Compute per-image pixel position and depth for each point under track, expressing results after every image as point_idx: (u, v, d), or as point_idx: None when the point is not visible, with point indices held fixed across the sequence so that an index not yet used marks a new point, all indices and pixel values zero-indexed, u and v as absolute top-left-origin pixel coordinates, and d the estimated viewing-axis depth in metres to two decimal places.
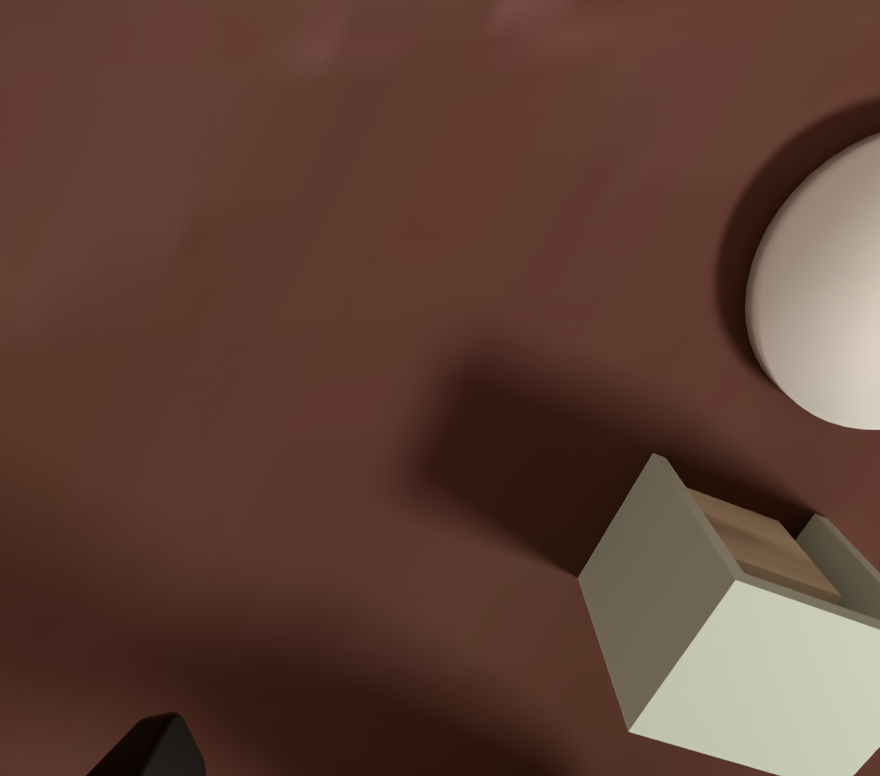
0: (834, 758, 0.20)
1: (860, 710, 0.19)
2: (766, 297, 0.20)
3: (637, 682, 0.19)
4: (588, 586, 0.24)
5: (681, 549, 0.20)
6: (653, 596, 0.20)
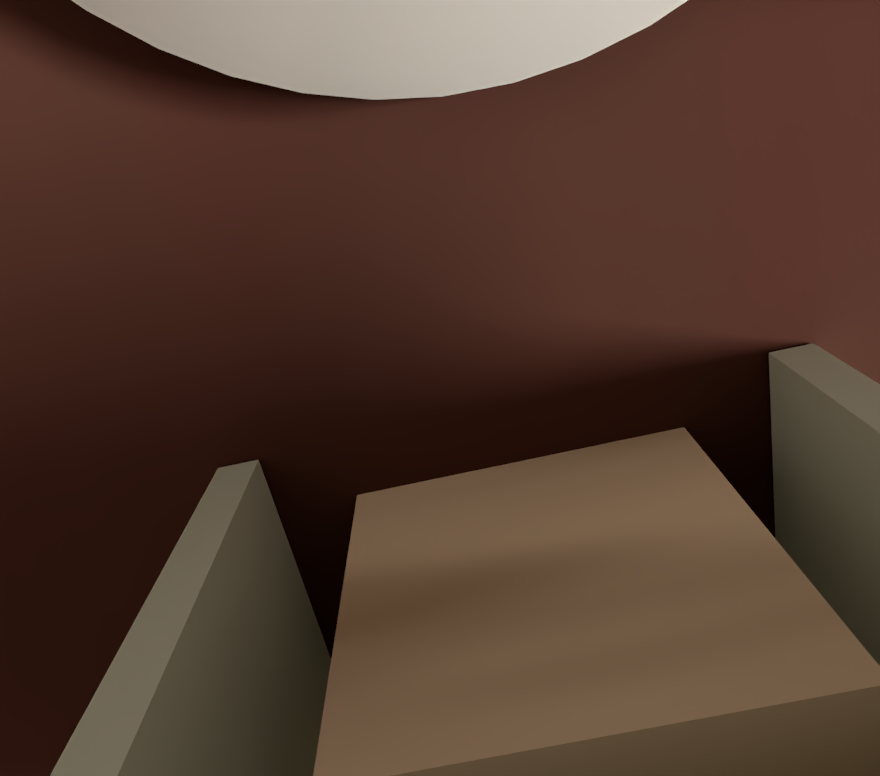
0: None
1: None
2: None
3: None
4: None
5: None
6: None
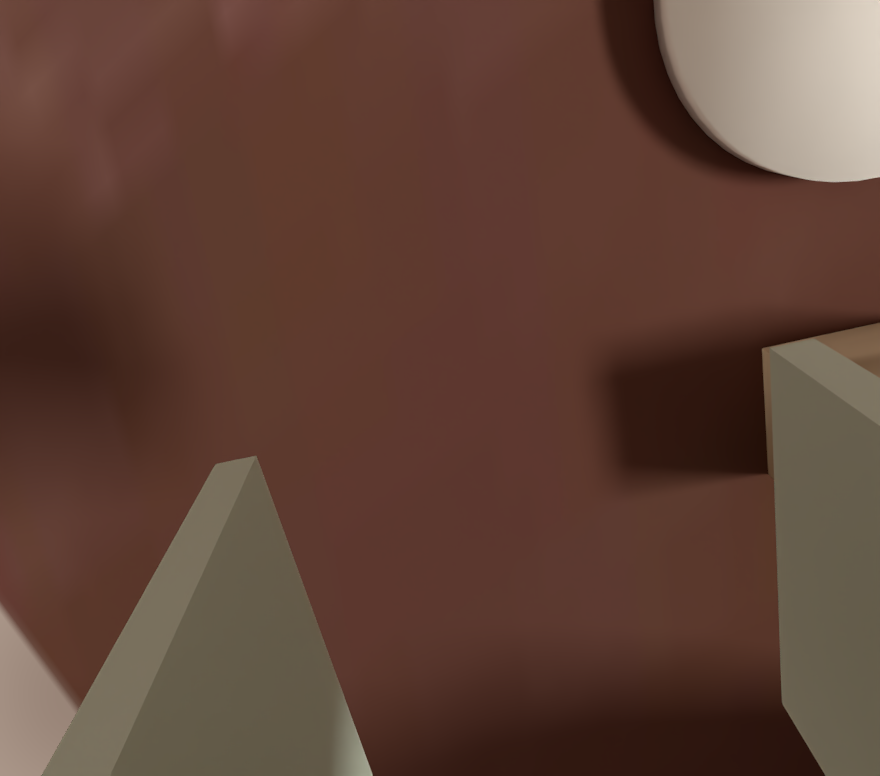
0: None
1: None
2: (701, 95, 0.15)
3: None
4: None
5: None
6: None
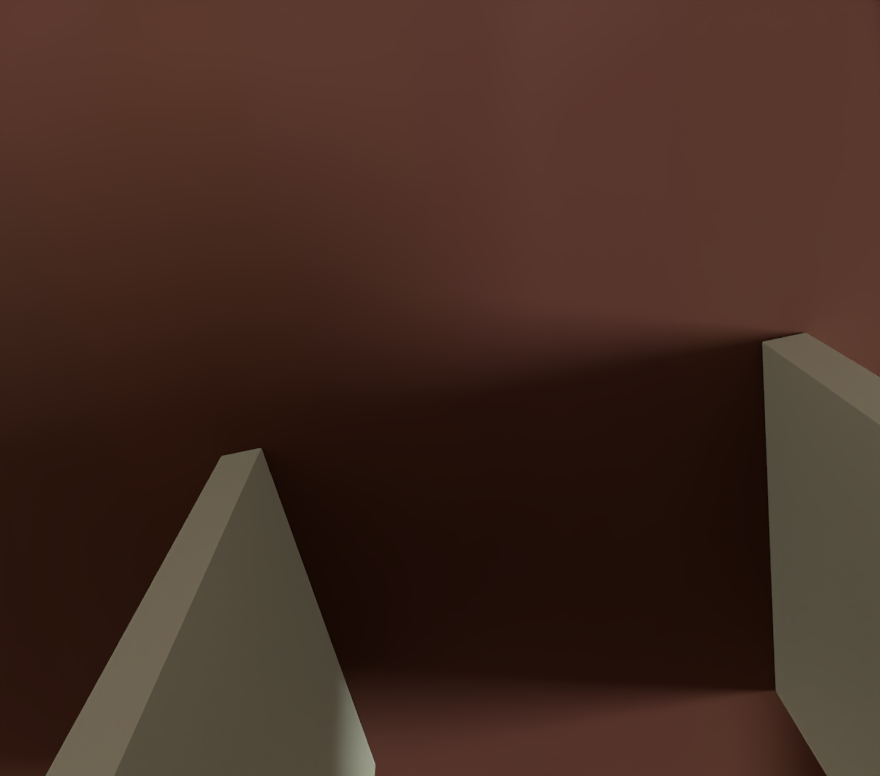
0: None
1: None
2: None
3: None
4: None
5: None
6: None
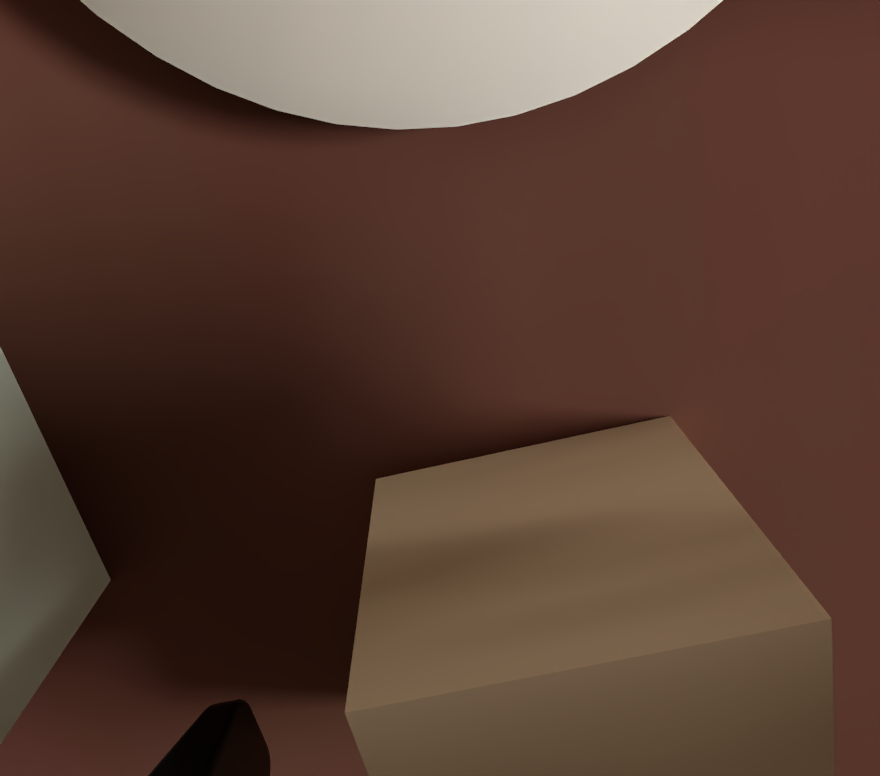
0: None
1: None
2: None
3: None
4: None
5: None
6: None
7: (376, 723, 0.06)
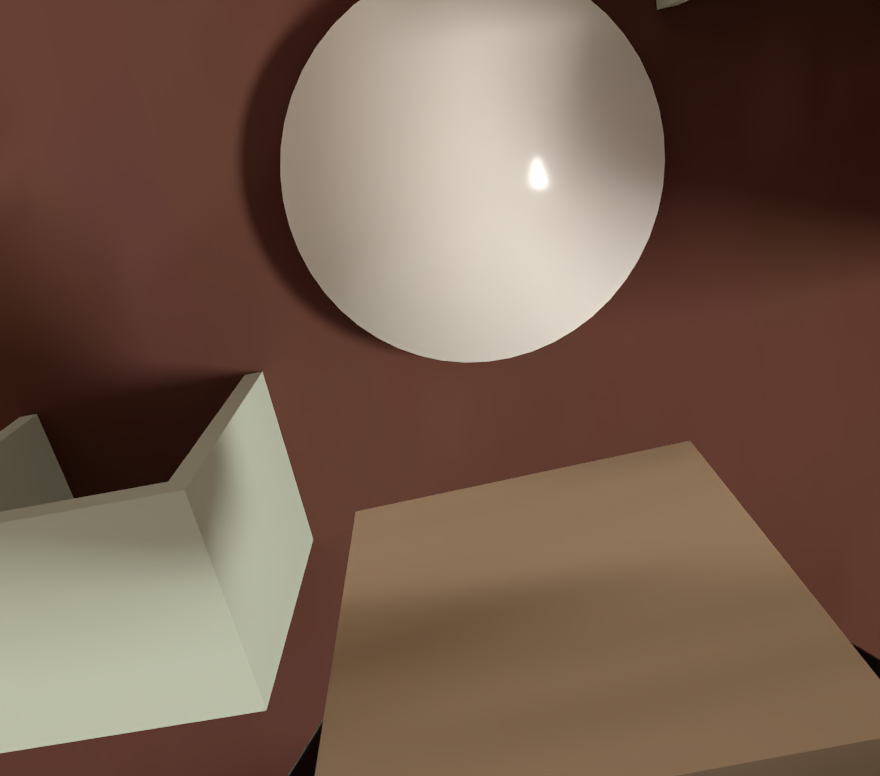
0: (207, 676, 0.15)
1: (158, 610, 0.14)
2: (330, 290, 0.17)
3: None
4: None
5: None
6: None
7: None
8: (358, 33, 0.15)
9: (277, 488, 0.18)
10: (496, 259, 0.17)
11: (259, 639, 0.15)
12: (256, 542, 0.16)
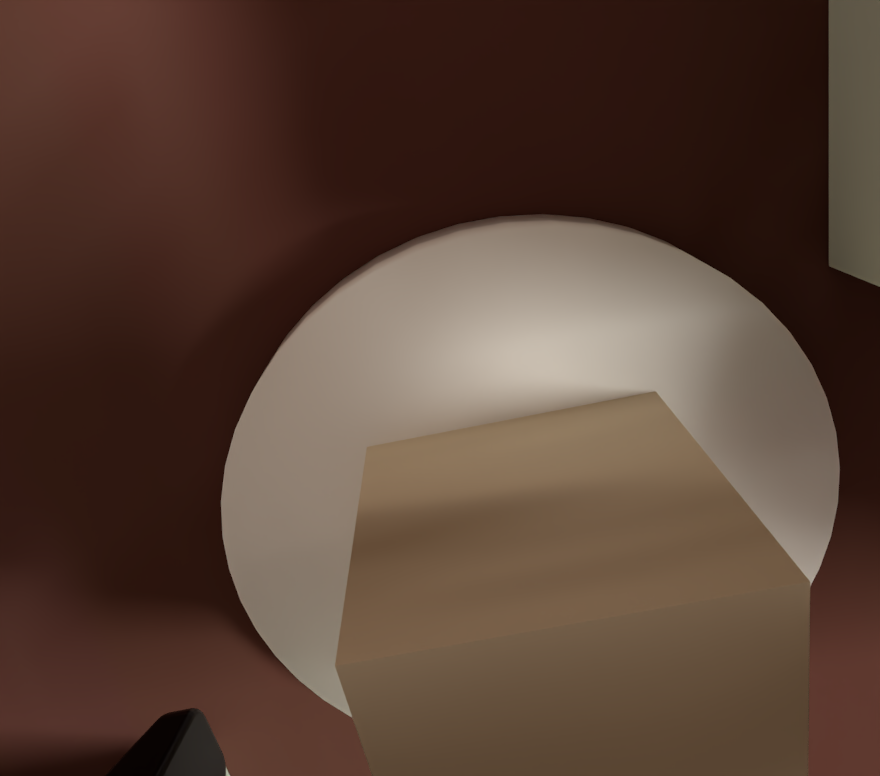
0: None
1: None
2: (308, 676, 0.11)
3: None
4: None
5: None
6: None
7: (365, 677, 0.06)
8: (344, 339, 0.09)
9: None
10: None
11: None
12: None
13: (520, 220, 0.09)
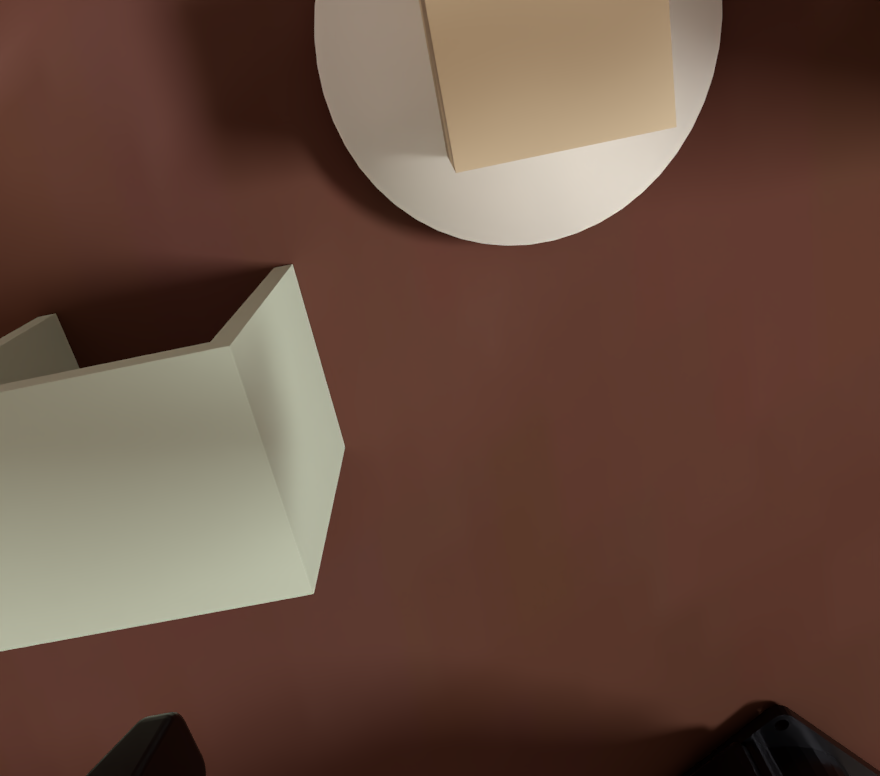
0: (252, 556, 0.14)
1: (201, 483, 0.13)
2: (367, 166, 0.16)
3: None
4: None
5: None
6: None
7: None
8: None
9: (311, 384, 0.18)
10: None
11: (304, 522, 0.15)
12: (296, 427, 0.15)
13: None
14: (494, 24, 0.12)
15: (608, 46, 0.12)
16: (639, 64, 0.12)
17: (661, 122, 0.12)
